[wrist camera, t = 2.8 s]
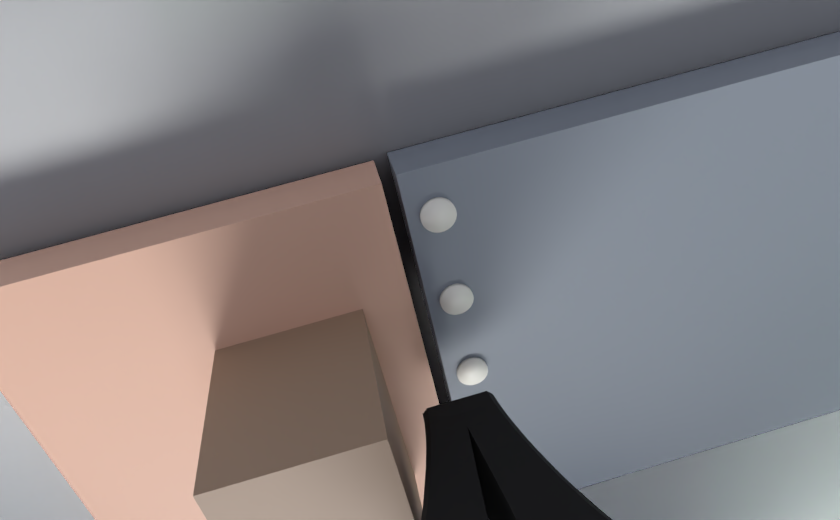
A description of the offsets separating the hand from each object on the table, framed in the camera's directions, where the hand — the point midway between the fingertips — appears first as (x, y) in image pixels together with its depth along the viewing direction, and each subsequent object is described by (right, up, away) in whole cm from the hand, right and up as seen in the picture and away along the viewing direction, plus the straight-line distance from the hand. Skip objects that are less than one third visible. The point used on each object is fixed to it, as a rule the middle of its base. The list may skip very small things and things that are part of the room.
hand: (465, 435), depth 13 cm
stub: (-5, 0, +2) cm, 5 cm away
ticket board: (+6, +3, +3) cm, 8 cm away
